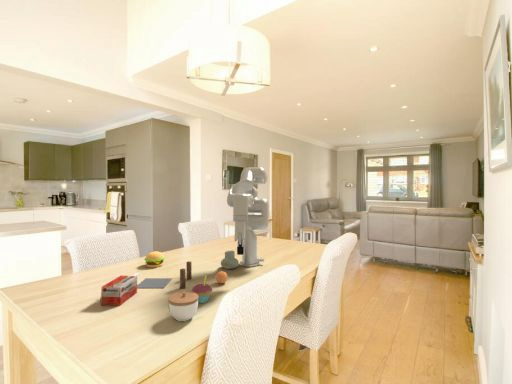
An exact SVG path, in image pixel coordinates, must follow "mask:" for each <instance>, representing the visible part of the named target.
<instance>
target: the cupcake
mask: <svg viewBox="0 0 512 384" xmlns="http://www.w3.org/2000/svg"><path fill="white" fill-rule="evenodd" d="M206 281H207V274H205V275H204V278H203V283H199V284H196V285H195V286H193V287H192V289H191V292H194V293H196V294H198V296H199V298H198V304H205V303H207V302H208V301H209V297H210V296H211V294H212V292H213V288H212V287H211V285H209V284H207V283H206Z"/></svg>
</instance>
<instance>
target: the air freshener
mask: <svg viewBox="0 0 512 384" xmlns="http://www.w3.org/2000/svg"><path fill="white" fill-rule="evenodd" d="M235 256H236V255H235V251H234V250H225V252H224V258H223V259H221V261H220V266H221V267H222V268H223V269H225V270H232V269H235V268H237V267H238V266H239V265H240V261H239V260H238V259H237V258H236V257H235Z"/></svg>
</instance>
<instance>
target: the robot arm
mask: <svg viewBox="0 0 512 384" xmlns="http://www.w3.org/2000/svg"><path fill="white" fill-rule="evenodd" d="M267 181H268V174H267V171H266V169H265V168H263V167H251V166H250V167H245V168H244V169H243V170H242V171H241V173H240V178H239V181H237V182H236V183H235V184H233V185H232V186H231V187H230V189H228V193H227V197H226V204H227V205H228V207H230V208H232V209H233V210H232V212H233V213H232V222H234V242H236V241H237V242H236V243H237V246H236V255H237V256H238V255H239V256H241V260H240V261H239V265H240V266H242V267H251V268H252V267H257V266H259V265H260V262H263V263H264V262H265V258H262V257H258V236H257V234H256V232H255V231H265V230H267V229H268V227H269V214H270V213H269V212H270V211H269V210H270V209H269V201H268V200H267V198H258V194H259V193H258V192H259V191H258V189H256V187H255V186H254V185H265V184H266V183H268V182H267Z"/></svg>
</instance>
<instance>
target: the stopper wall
mask: <svg viewBox="0 0 512 384" xmlns="http://www.w3.org/2000/svg"><path fill="white" fill-rule="evenodd" d="M140 274H141V273H140V272H135V273H134V274H132V275H131V276H137V280H139V279H140V277H141V275H140Z"/></svg>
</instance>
